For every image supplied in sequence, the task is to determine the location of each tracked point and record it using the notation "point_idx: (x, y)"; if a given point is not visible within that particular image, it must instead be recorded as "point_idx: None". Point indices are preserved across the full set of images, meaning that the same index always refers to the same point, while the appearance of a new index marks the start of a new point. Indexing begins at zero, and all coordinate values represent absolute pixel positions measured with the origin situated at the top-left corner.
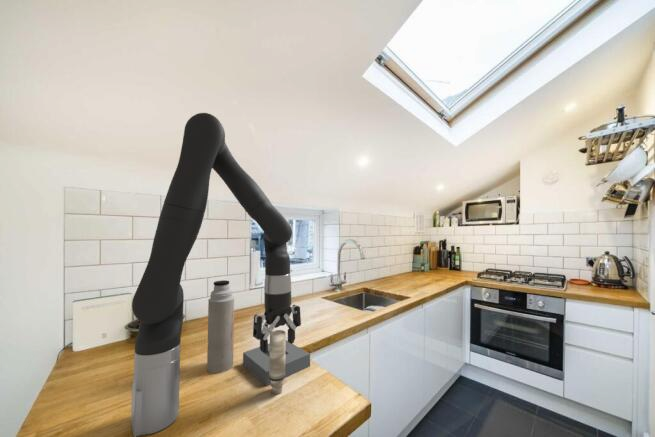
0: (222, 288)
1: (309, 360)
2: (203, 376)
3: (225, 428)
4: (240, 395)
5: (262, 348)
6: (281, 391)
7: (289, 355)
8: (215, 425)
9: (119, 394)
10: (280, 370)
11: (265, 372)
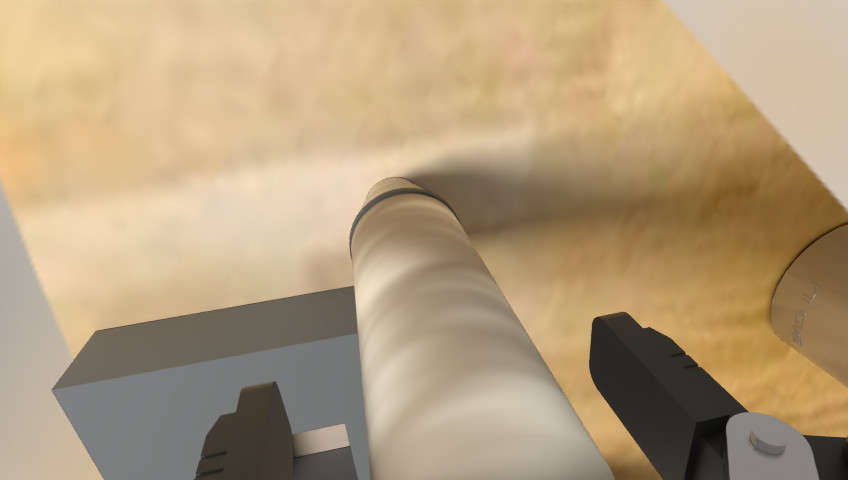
0: None
1: (81, 356)
2: (612, 459)
3: (709, 84)
4: (557, 270)
5: (683, 353)
6: (379, 183)
7: None
8: (726, 131)
9: None
10: (420, 215)
11: None
